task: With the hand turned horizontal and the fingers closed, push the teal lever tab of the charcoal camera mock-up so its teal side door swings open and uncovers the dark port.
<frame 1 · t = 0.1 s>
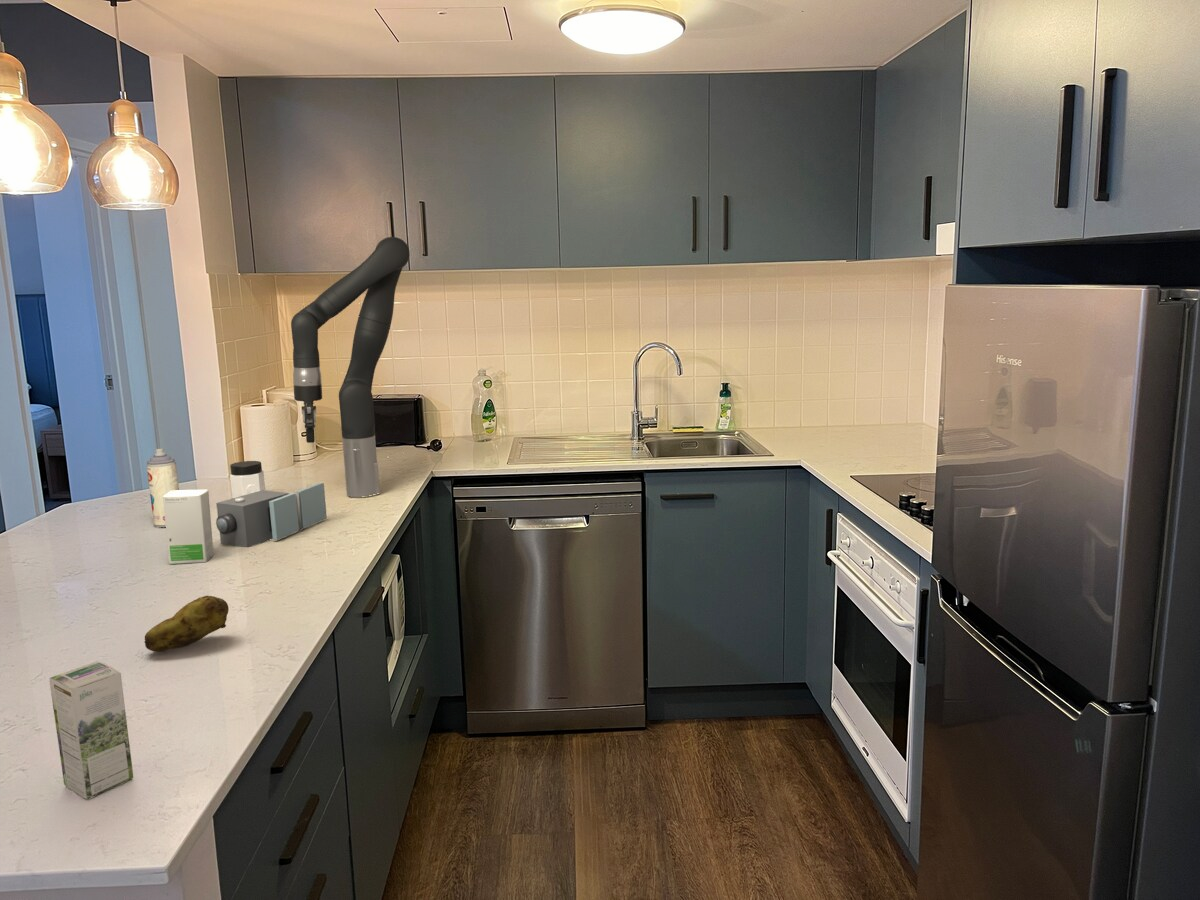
hand: (310, 440, 249), 17 cm above the counter, tool pointing down, fingers open, 8 cm apart
potato: (190, 646, 149), on the counter
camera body: (257, 537, 214), on the counter
skincare box: (192, 560, 198), on the counter
syrup box: (100, 784, 107), on the counter
side door: (299, 510, 218), point 5 cm above the counter, hinge at 10.0°
aerosol can: (168, 525, 229), on the counter
jar: (250, 505, 247), on the counter
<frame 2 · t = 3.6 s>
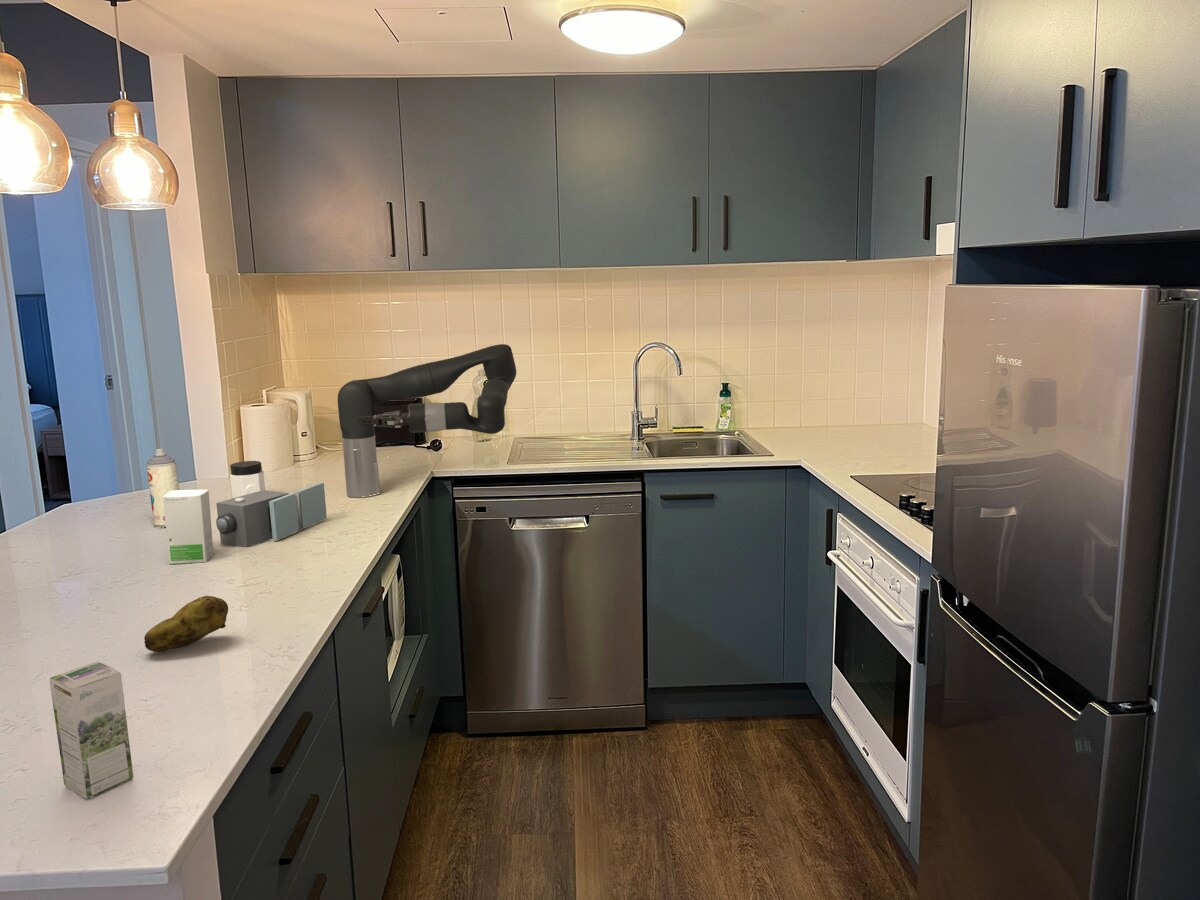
hand: (358, 421, 224), 26 cm above the counter, tool horizontal, fingers closed
nothing on the counter moved.
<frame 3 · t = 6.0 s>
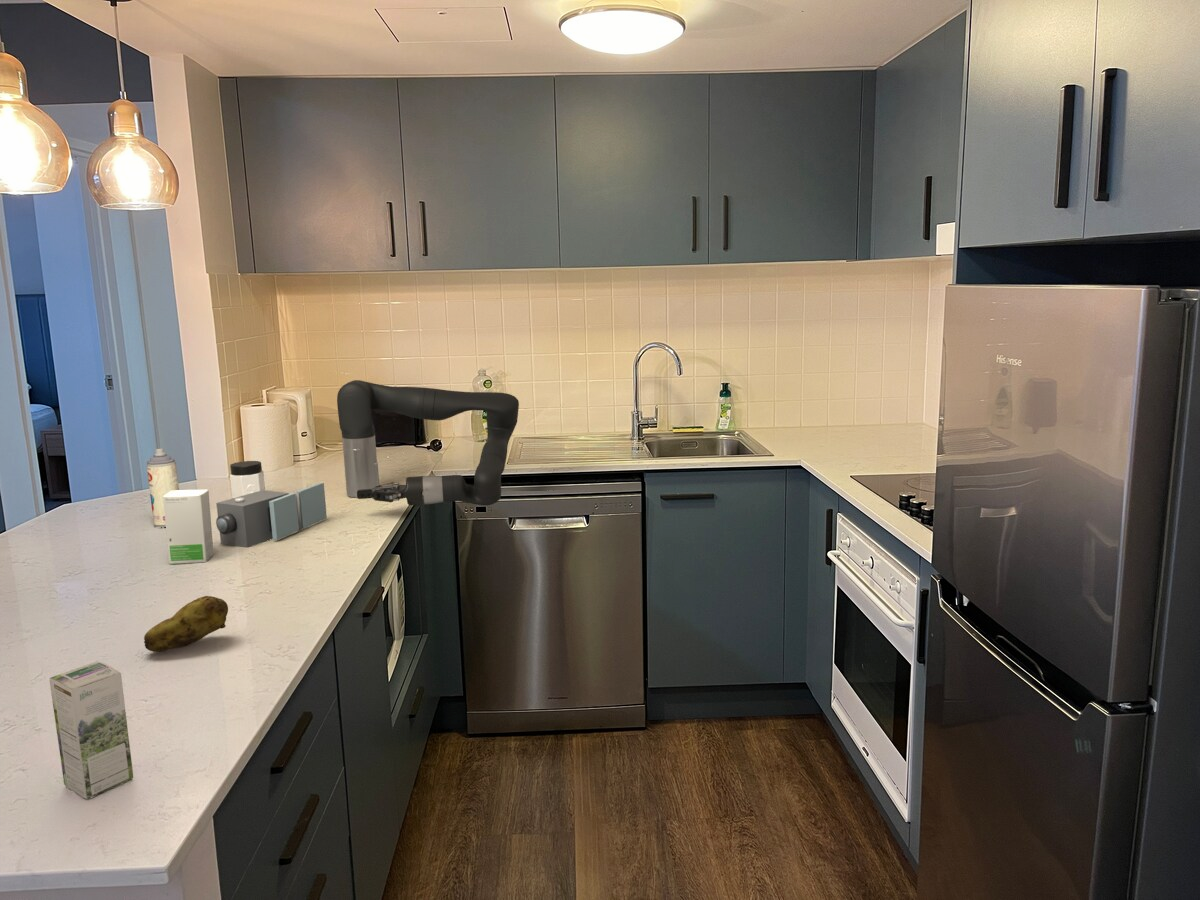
hand: (357, 494, 228), 7 cm above the counter, tool horizontal, fingers closed
nothing on the counter moved.
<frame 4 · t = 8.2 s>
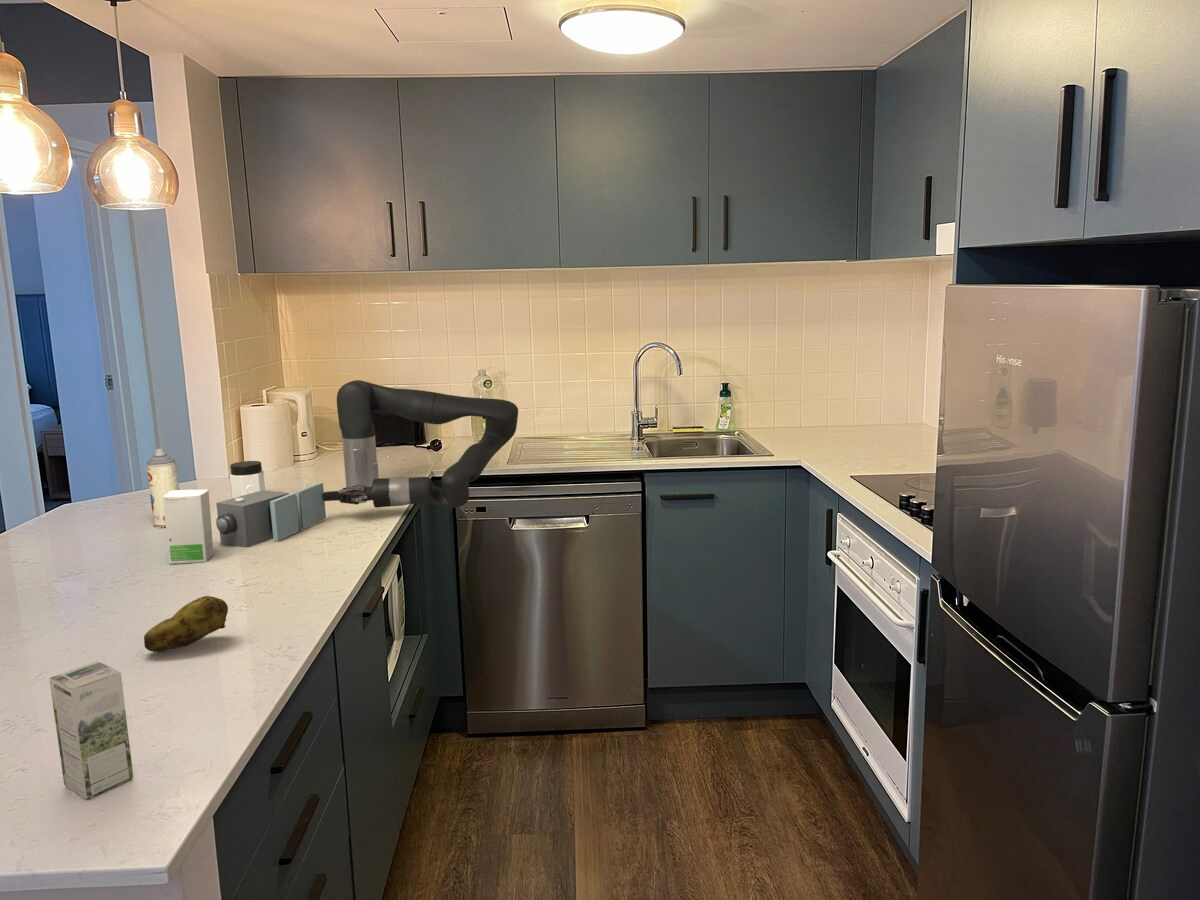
hand: (323, 496, 227), 7 cm above the counter, tool horizontal, fingers closed
side door: (299, 510, 218), point 5 cm above the counter, hinge at 11.3°, touching gripper
everything else where it was.
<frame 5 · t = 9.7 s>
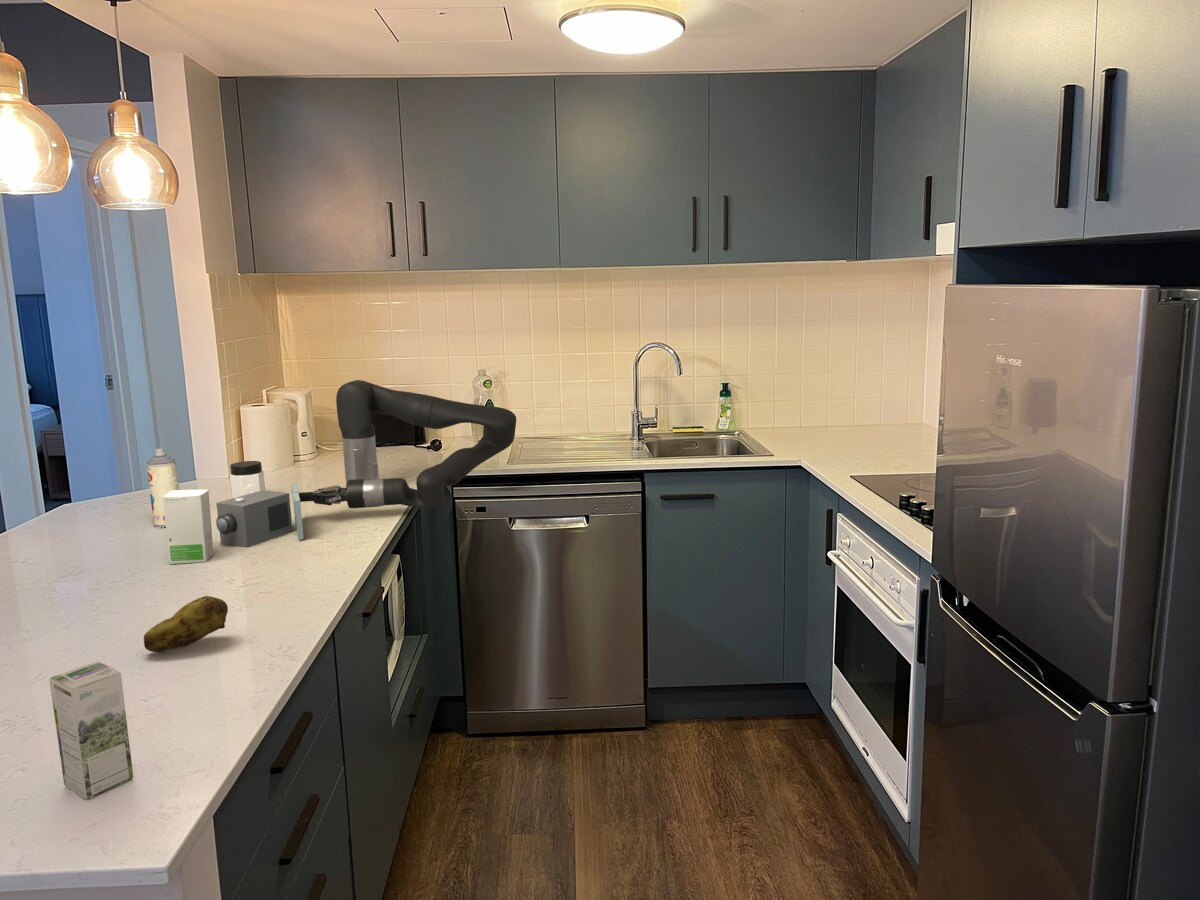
hand: (298, 497, 227), 7 cm above the counter, tool horizontal, fingers closed
side door: (297, 510, 218), point 5 cm above the counter, hinge at 48.3°, touching gripper
everything else where it was.
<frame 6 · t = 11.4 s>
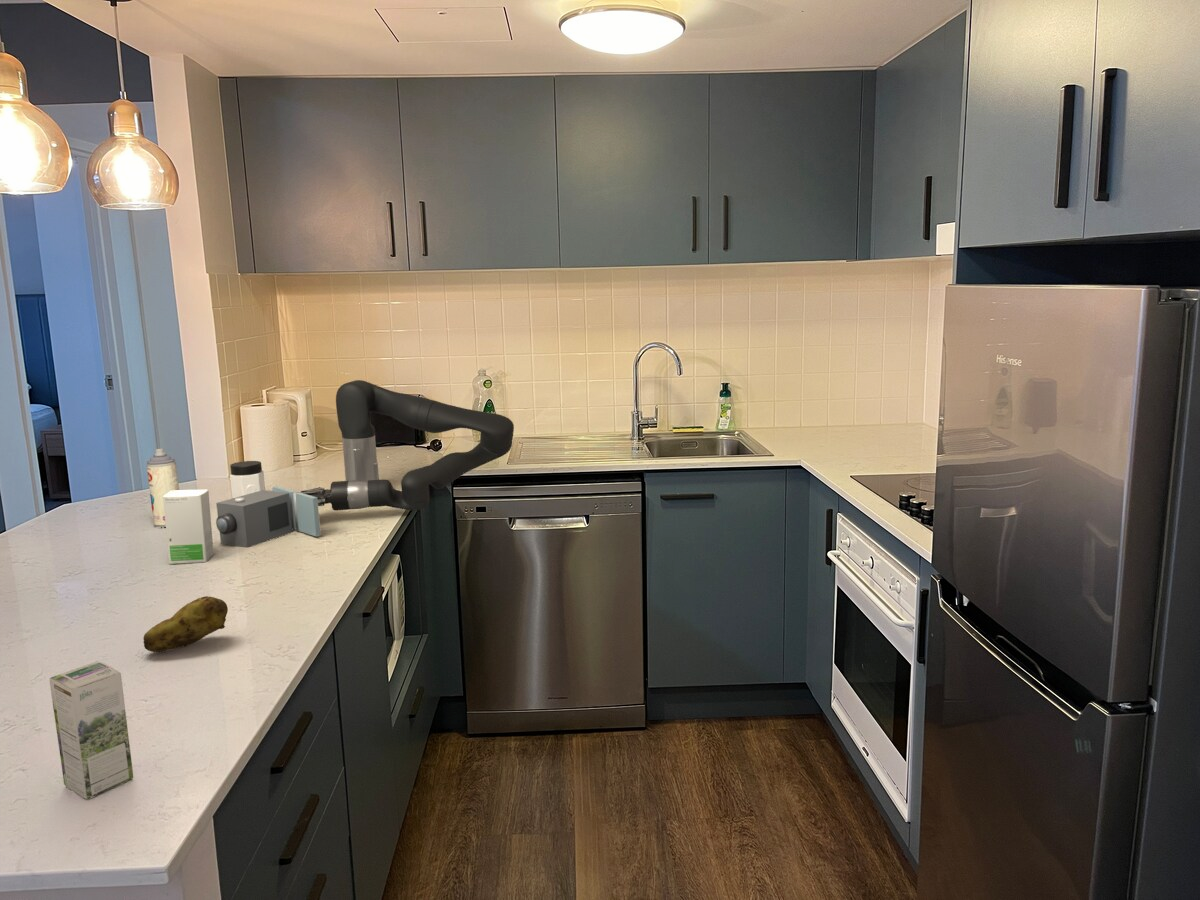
hand: (281, 499, 224), 7 cm above the counter, tool horizontal, fingers closed
side door: (296, 511, 218), point 5 cm above the counter, hinge at 73.9°, touching gripper
everything else where it was.
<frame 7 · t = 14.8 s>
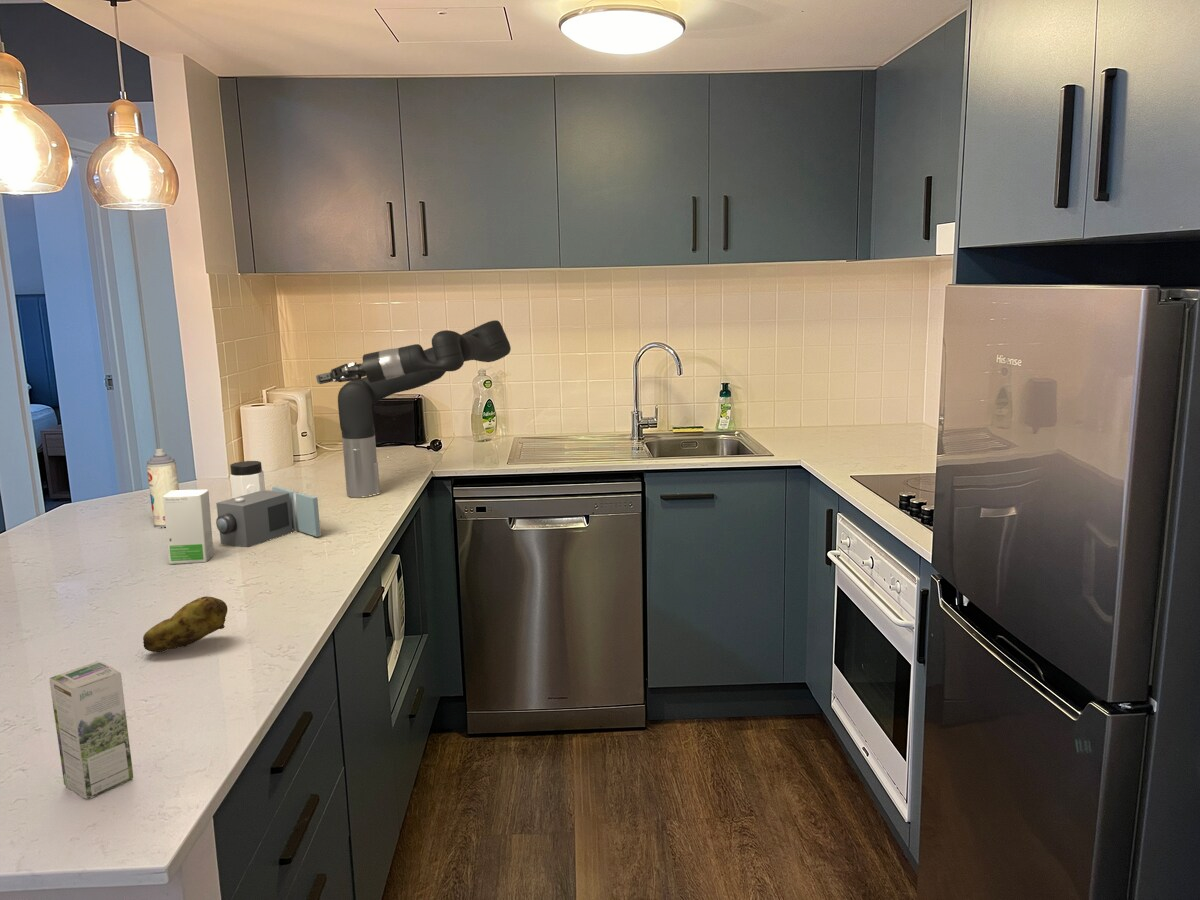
hand: (317, 379, 223), 37 cm above the counter, tool horizontal, fingers closed
side door: (296, 511, 218), point 5 cm above the counter, hinge at 74.0°
everything else where it was.
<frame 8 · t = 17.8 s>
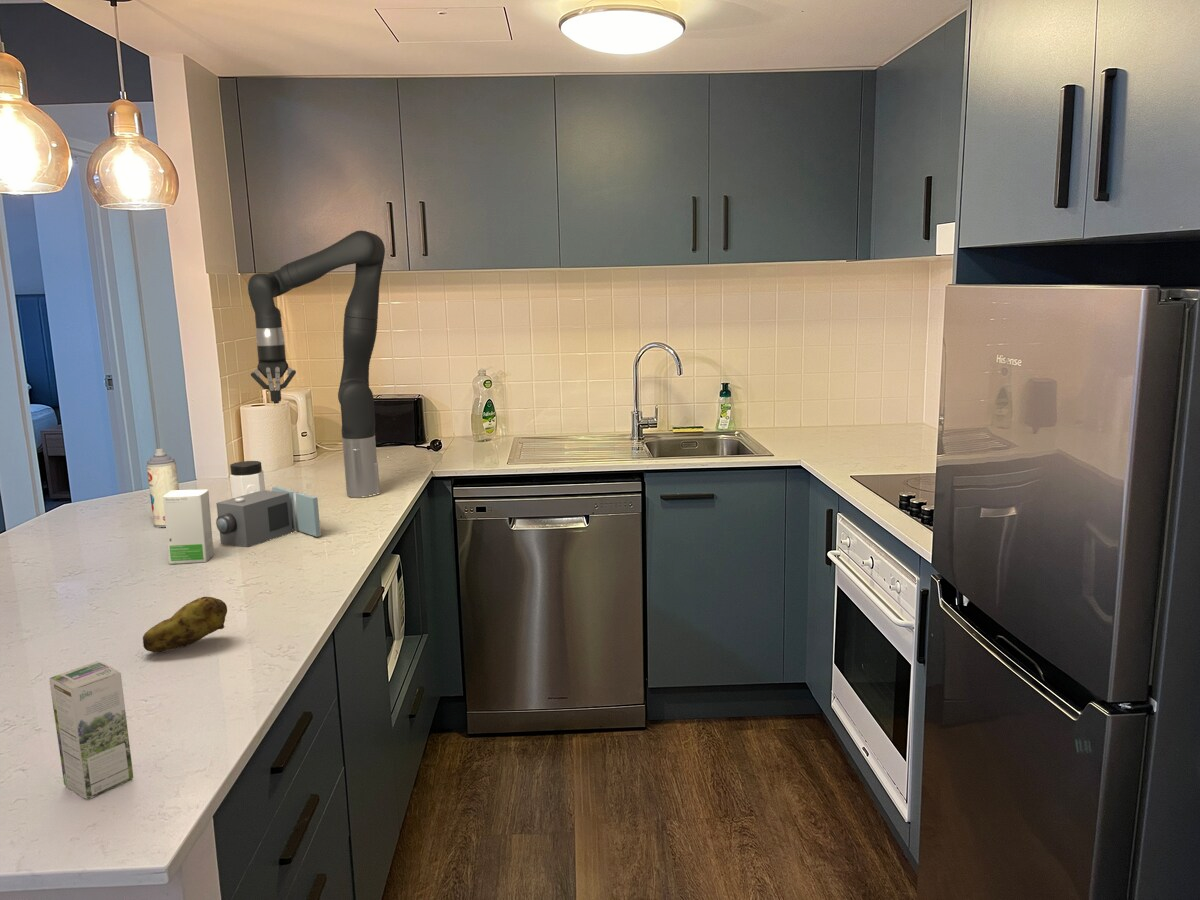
hand: (276, 403, 256), 27 cm above the counter, tool pointing down, fingers closed
nothing on the counter moved.
at the end: side door at +74° (first picture: +10°) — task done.
